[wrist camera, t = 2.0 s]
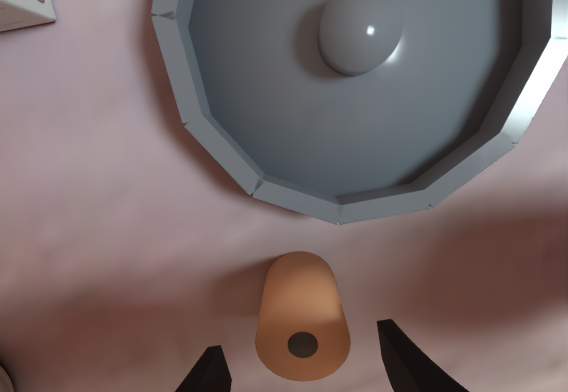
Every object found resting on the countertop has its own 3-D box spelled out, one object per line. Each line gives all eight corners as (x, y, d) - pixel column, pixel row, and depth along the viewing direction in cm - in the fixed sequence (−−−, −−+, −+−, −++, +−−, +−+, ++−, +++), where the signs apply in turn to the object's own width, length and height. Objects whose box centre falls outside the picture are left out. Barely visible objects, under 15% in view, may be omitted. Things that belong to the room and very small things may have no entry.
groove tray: (533, -240, 11) (601, -341, 9) (523, 174, 15) (566, 184, 13) (132, -121, 12) (93, -179, 10) (228, 228, 17) (218, 246, 14)
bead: (328, 245, 17) (343, 297, 12) (339, 306, 18) (357, 376, 13) (258, 257, 17) (245, 313, 12) (273, 316, 18) (266, 388, 13)
